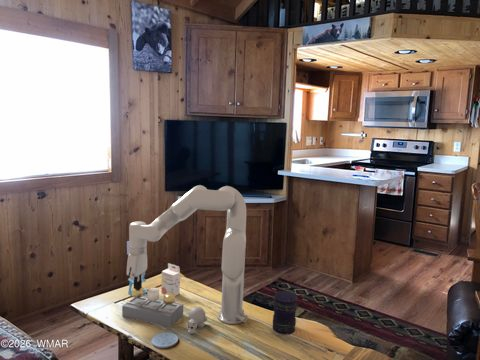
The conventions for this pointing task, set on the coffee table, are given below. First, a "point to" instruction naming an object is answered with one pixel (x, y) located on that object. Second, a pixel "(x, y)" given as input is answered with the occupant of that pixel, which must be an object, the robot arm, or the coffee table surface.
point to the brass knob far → (137, 292)
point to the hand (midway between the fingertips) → (137, 288)
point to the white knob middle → (153, 294)
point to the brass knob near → (169, 298)
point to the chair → (133, 283)
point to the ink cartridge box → (171, 280)
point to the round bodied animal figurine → (196, 319)
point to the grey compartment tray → (152, 311)
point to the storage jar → (284, 312)
